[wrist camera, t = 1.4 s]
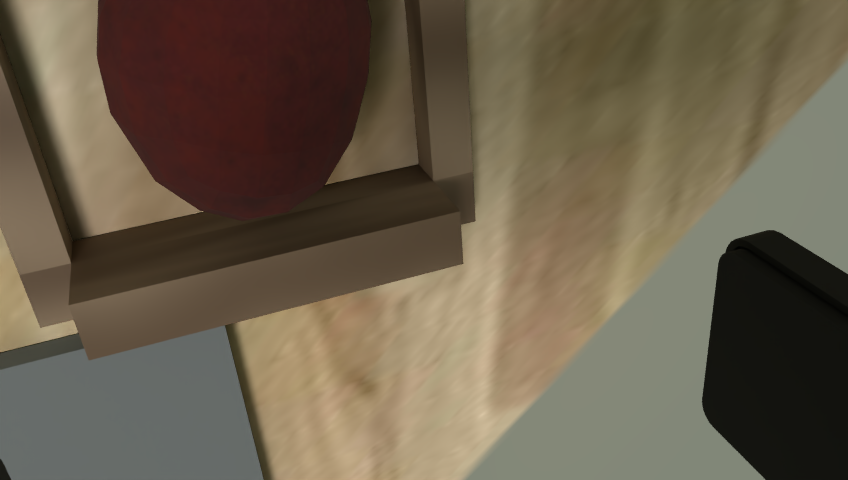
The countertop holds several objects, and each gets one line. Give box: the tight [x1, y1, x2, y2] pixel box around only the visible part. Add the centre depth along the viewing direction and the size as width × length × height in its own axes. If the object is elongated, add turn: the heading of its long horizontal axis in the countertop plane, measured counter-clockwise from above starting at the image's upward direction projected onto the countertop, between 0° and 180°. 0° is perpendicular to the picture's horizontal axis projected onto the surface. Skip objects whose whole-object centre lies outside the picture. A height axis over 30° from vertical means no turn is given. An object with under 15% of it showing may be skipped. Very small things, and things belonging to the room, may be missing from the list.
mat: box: [0, 325, 264, 480], centre depth 30 cm, size 12×12×1 cm
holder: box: [0, 0, 475, 360], centre depth 23 cm, size 15×15×4 cm
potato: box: [97, 0, 371, 221], centre depth 22 cm, size 8×9×6 cm
